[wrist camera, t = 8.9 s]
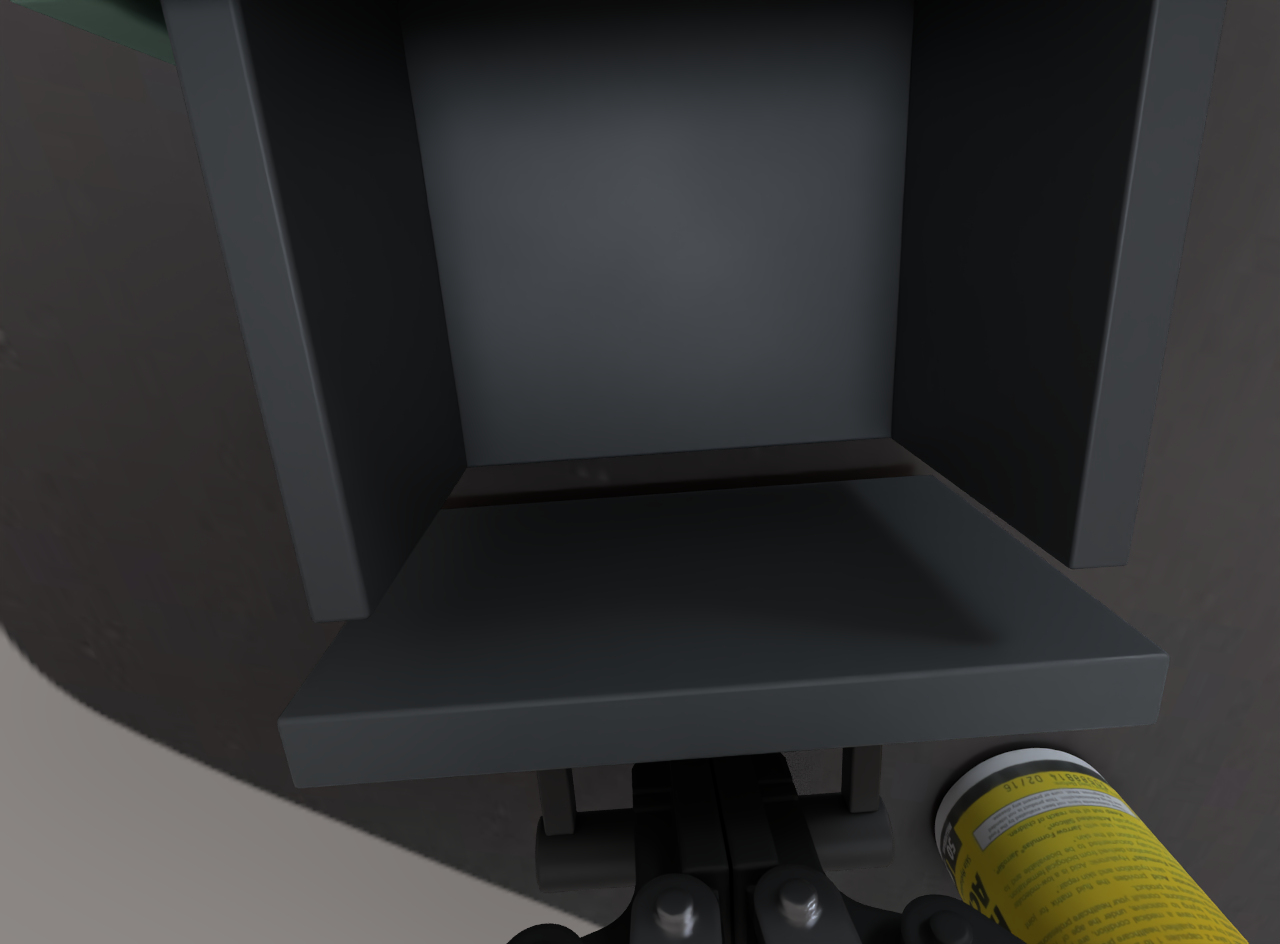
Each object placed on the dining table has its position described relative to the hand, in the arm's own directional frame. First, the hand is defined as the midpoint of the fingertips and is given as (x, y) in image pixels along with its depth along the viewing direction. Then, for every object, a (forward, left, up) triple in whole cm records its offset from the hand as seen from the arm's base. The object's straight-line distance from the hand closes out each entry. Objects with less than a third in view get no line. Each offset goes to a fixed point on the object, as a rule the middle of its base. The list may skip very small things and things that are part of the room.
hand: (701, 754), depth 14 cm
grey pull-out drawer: (0, +7, -4) cm, 9 cm away
